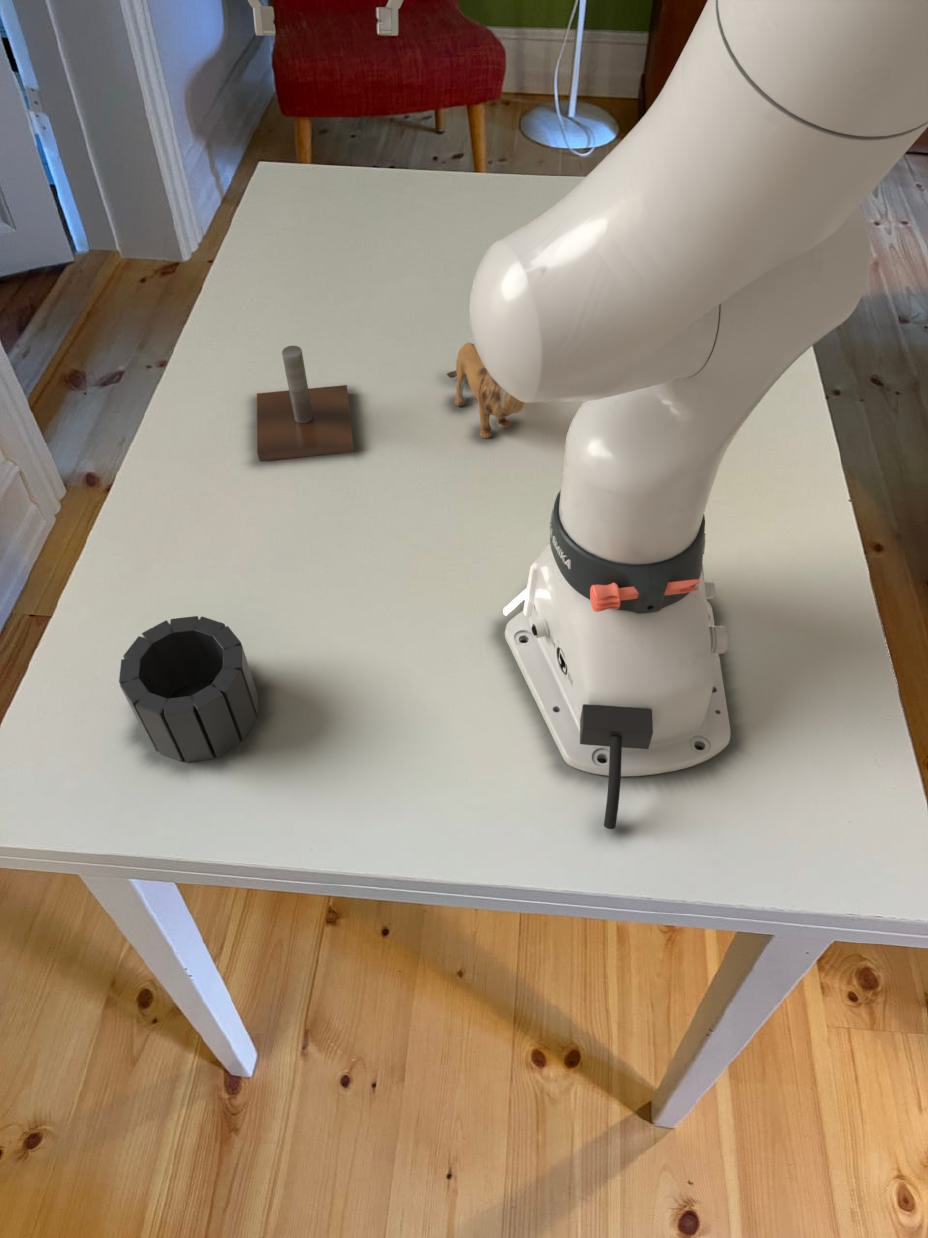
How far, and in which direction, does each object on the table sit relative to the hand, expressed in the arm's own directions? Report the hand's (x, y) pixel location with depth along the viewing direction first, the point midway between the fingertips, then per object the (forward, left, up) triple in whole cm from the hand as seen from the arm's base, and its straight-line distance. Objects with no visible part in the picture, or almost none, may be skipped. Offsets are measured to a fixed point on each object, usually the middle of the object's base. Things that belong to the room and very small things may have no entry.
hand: (327, 34), depth 72 cm
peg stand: (+1, +7, -38) cm, 39 cm away
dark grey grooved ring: (-35, +17, -38) cm, 55 cm away
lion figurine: (0, -13, -38) cm, 40 cm away
